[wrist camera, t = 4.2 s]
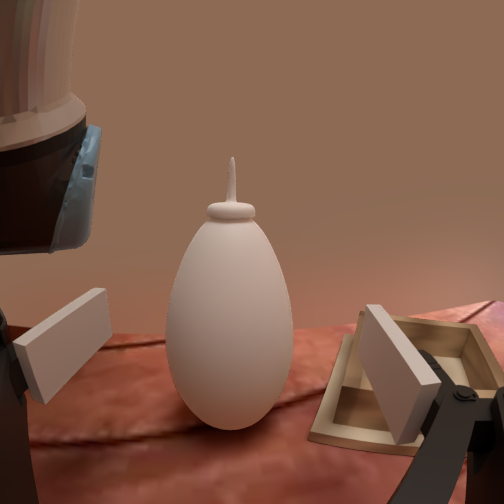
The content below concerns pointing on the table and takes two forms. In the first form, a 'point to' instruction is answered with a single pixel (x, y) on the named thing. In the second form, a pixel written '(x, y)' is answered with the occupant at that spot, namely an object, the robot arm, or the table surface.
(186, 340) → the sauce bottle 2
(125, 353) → the table surface
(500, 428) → the robot arm
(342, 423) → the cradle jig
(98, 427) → the table surface
